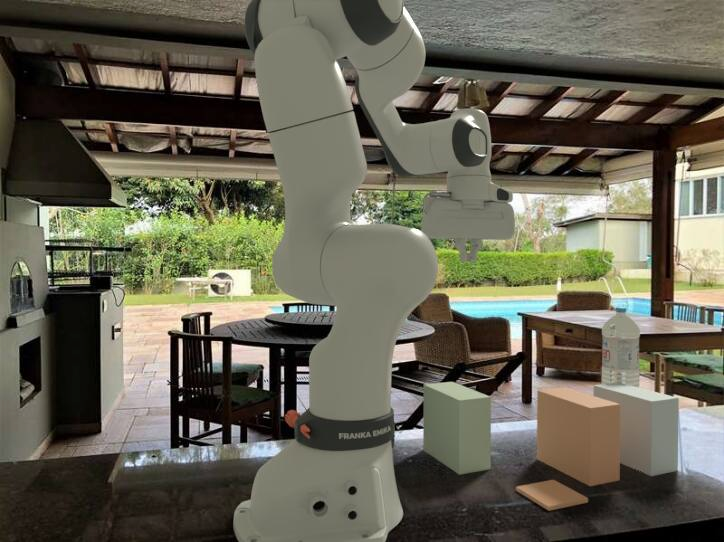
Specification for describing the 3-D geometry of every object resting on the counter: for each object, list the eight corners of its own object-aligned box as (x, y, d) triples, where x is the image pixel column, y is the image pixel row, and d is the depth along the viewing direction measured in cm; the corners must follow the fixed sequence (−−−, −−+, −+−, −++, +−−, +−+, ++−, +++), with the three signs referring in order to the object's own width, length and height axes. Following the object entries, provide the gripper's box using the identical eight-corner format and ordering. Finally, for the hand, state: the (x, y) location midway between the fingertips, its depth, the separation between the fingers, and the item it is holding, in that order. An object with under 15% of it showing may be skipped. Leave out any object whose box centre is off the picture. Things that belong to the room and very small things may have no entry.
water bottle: (635, 440, 103) (636, 309, 102) (597, 433, 107) (598, 307, 106) (642, 431, 108) (643, 307, 108) (605, 425, 112) (606, 305, 112)
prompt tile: (548, 510, 74) (548, 506, 74) (516, 490, 80) (516, 486, 80) (588, 502, 76) (588, 498, 76) (553, 483, 83) (553, 479, 83)
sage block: (459, 474, 87) (459, 400, 86) (423, 450, 98) (423, 384, 97) (490, 469, 89) (490, 396, 89) (452, 446, 100) (452, 381, 100)
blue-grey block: (651, 476, 86) (651, 401, 86) (593, 451, 97) (593, 385, 97) (677, 470, 88) (678, 397, 88) (617, 447, 99) (618, 382, 99)
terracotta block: (590, 486, 82) (590, 408, 82) (536, 459, 93) (537, 390, 93) (619, 480, 84) (620, 404, 84) (564, 454, 95) (564, 387, 95)
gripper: (431, 188, 102) (430, 261, 102) (519, 193, 109) (519, 261, 110) (415, 192, 108) (415, 261, 108) (500, 197, 115) (500, 261, 115)
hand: (468, 261), depth 109 cm, fingers closed
